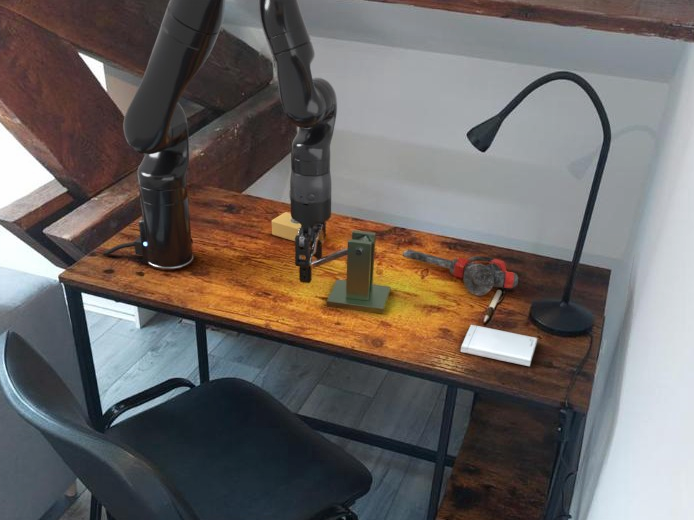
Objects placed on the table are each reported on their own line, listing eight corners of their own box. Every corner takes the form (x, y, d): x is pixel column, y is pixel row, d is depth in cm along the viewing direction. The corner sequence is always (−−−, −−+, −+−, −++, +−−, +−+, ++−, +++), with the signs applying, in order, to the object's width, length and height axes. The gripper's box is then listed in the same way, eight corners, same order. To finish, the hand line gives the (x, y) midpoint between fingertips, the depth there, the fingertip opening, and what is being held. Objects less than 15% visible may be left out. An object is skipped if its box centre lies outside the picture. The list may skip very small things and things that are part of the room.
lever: (305, 279, 155) (299, 268, 154) (313, 266, 159) (307, 255, 158) (368, 254, 149) (362, 243, 148) (373, 242, 154) (367, 231, 153)
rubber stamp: (322, 237, 181) (323, 186, 174) (308, 246, 176) (309, 194, 170) (285, 226, 184) (285, 176, 178) (271, 235, 180) (270, 184, 173)
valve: (532, 285, 170) (504, 304, 158) (425, 256, 182) (391, 271, 170) (538, 256, 168) (509, 273, 156) (428, 229, 179) (394, 242, 167)
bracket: (326, 306, 155) (327, 243, 148) (336, 284, 163) (338, 223, 155) (382, 313, 154) (386, 250, 146) (390, 291, 161) (394, 230, 154)
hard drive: (537, 337, 147) (471, 322, 149) (531, 360, 140) (461, 345, 143) (536, 344, 148) (470, 330, 150) (529, 368, 141) (460, 352, 144)
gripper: (300, 177, 154) (301, 253, 163) (280, 205, 143) (282, 286, 152) (339, 181, 153) (337, 258, 162) (321, 210, 142) (321, 291, 151)
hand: (311, 271), depth 157 cm, fingers open, 8 cm apart
